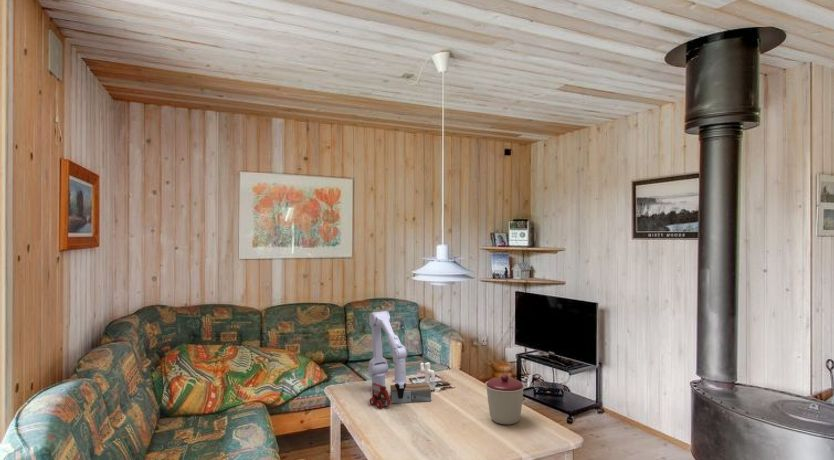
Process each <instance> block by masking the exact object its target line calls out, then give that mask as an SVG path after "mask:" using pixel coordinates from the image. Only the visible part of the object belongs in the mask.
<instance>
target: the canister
mask: <svg viewBox="0 0 834 460" xmlns="http://www.w3.org/2000/svg"><path fill="white" fill-rule="evenodd" d="M484 386H485V388H486V395H487V404H488V409H489V410H488V411H489V415H490V418H491V420H492V421H493V422H494V423H496V424H500V425H505V426H508V425H514V424H516V423H518V422H519V421H520V418H521V415H522V407H523V399H524V398H523V396H524V390H525V388H526V384H525V383H523V382H522V381H520V380H519V379H516V378H513V377H509V375H508V374H506V373H504V374H501V375H500V376H499V377H493V378H490V379H489V380H487V381H486V382H485V383H484Z"/></svg>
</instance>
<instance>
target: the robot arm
mask: <svg viewBox="0 0 834 460" xmlns="http://www.w3.org/2000/svg"><path fill="white" fill-rule="evenodd" d="M368 317H369V318H368V320H369V328H371V339H372V340H371V342H372V344H371V346H372V358H371V359H370V360H369V361H368V367H367V368H368V369H367V372H368V374H369V375H370V377H371V385H372V384H373V383H376V384H379V385H382V386H385V387H386V376H387V373H388V371H389V365H388V362H387V361H388V360H387V359H386V358H385V357H383V343H382V330H381V329H383V331H384V333H385V334H386V336H387V343H388V345H389V347H390V349H391V356H392V362H393V363H394V368H393V369H394V379H392V381H391V382H392V383H394V385H395V387H396V389H397V393H398V398H399V399H403V394H404V389H405V387H406V384H407V383H406V382H407V371H406V369H407V366H406V365H407V364H406V358H407V357H408V354H409V353H408V349H407V347H406V346H405V345H403V344H402V342H401V341H400V340H401V339H399V336H398V335H397V334H395V333H394V332H395V331H394V330H393V327H392V325H391V323H390V322H391V316H390V313H389V311H388V310H382V311H376V312H375V311H374V312H371V313H370V314H369V316H368ZM370 394H371V395H372V387H370Z"/></svg>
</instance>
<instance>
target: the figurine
mask: <svg viewBox="0 0 834 460" xmlns="http://www.w3.org/2000/svg"><path fill="white" fill-rule="evenodd" d="M419 365H420V366H419V370H420V373H421V374H424V381H422V382H421V383H428V385H429V387H430V390H432V391H433V390H434V389H435V387H436V386H437V384H438V383H437V382H434V381H435V380H436V372H435V370H433V369H431V362H429V361H428V362H427V361H426V362H425V363H424V362H420V364H419Z"/></svg>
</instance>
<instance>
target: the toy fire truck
mask: <svg viewBox="0 0 834 460" xmlns="http://www.w3.org/2000/svg"><path fill="white" fill-rule="evenodd" d="M371 388H372V394H371V397H370V398H369V405H370V406H371V407H376V408H377V409H378V410H380V409H381V410H382V408H383V406H385V407H389V406H391V404H392V401H391V397H390V395H389V392H388V390H387V387H386V385H385V386H382V385H379V384H376V383H373V384H372V383H371Z"/></svg>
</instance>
